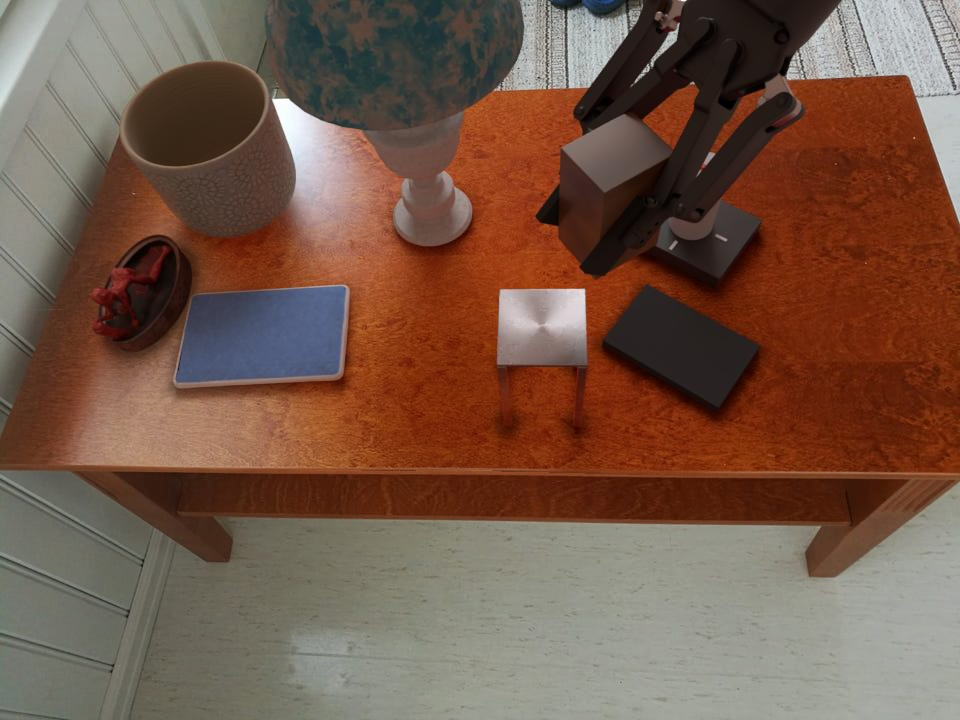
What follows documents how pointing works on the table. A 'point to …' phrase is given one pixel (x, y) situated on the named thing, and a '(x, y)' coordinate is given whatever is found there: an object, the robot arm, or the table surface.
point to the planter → (211, 147)
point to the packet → (607, 182)
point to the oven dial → (701, 228)
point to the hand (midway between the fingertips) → (569, 245)
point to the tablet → (264, 337)
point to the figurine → (143, 294)
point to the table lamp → (399, 85)
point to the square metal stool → (542, 337)
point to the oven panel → (709, 245)
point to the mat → (681, 347)
